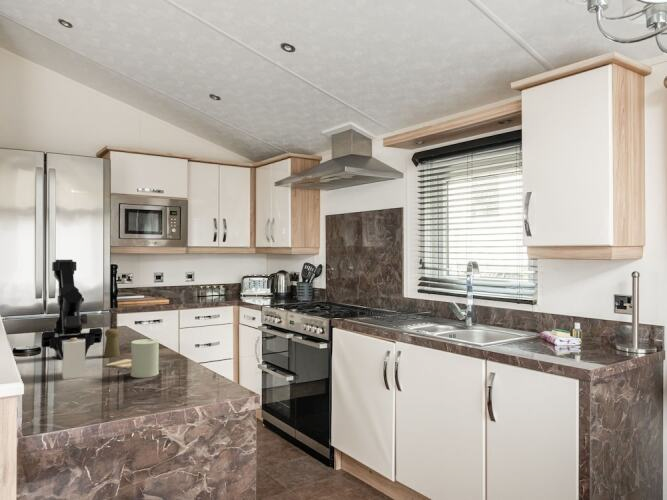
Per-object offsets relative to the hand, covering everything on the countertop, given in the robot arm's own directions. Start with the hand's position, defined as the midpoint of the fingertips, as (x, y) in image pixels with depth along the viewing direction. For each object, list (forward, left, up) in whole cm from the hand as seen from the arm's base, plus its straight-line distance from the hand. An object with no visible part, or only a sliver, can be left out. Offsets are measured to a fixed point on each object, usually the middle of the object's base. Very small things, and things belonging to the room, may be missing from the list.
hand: (73, 357), depth 173 cm
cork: (-18, +28, -7) cm, 34 cm away
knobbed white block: (-1, +1, -7) cm, 7 cm away
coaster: (-1, +22, -7) cm, 23 cm away
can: (+17, +16, -7) cm, 24 cm away
